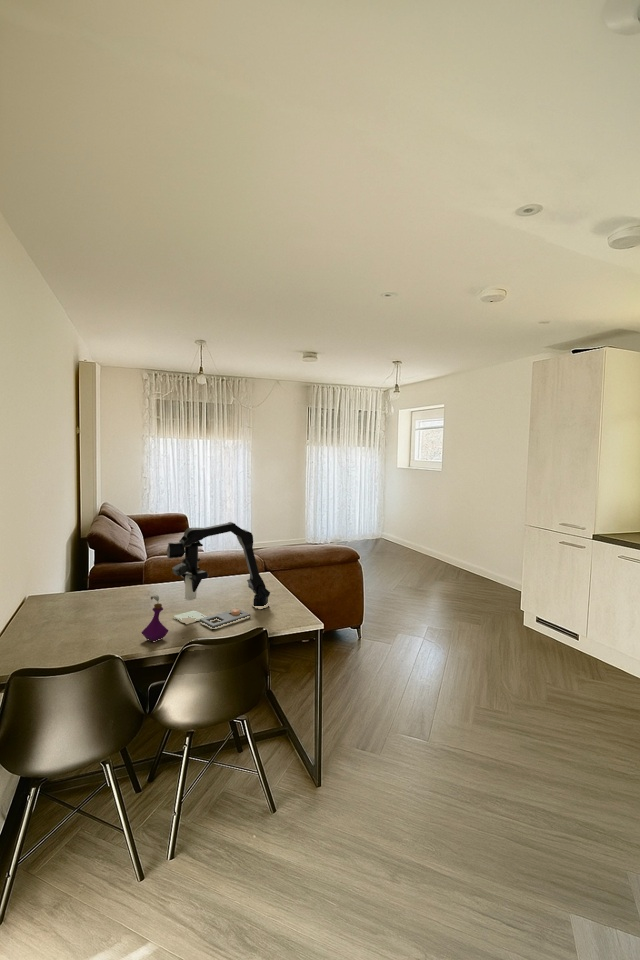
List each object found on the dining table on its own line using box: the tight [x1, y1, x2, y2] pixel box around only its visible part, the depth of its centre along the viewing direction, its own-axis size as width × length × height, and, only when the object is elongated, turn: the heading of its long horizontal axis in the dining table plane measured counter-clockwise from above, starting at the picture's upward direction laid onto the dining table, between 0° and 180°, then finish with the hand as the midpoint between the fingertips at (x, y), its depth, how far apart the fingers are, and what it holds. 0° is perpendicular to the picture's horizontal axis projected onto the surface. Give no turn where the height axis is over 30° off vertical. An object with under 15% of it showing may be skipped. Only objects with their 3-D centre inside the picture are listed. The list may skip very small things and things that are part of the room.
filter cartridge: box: [184, 573, 198, 601], centre depth 202 cm, size 5×5×11 cm
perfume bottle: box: [141, 594, 169, 642], centre depth 180 cm, size 8×8×18 cm
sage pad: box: [172, 610, 208, 620], centre depth 203 cm, size 11×11×1 cm
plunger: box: [230, 608, 241, 616], centre depth 206 cm, size 4×4×3 cm
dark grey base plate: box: [199, 608, 251, 628], centre depth 202 cm, size 20×10×2 cm, turn 137°
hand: (190, 590), depth 202 cm, fingers closed on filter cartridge, 5 cm apart
